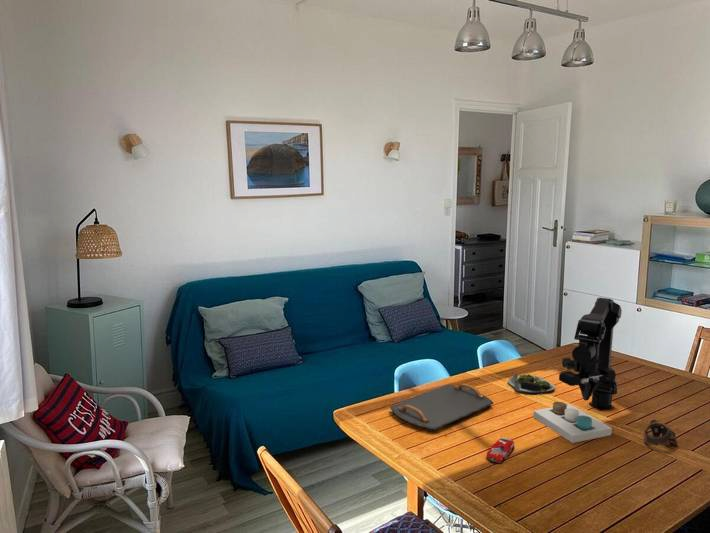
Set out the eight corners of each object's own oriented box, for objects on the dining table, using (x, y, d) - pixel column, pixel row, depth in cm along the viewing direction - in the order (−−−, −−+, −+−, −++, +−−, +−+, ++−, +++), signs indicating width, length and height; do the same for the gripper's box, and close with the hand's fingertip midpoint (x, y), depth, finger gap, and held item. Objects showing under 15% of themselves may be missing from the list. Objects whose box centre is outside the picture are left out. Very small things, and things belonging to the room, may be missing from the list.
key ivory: (571, 416, 188) (572, 407, 187) (581, 421, 183) (582, 412, 183) (561, 418, 186) (561, 409, 186) (570, 423, 182) (571, 414, 181)
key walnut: (560, 409, 193) (560, 400, 193) (569, 414, 189) (569, 405, 189) (549, 411, 192) (550, 402, 191) (558, 416, 188) (559, 407, 187)
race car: (500, 467, 160) (500, 454, 159) (483, 461, 163) (483, 449, 163) (517, 449, 170) (517, 437, 170) (501, 443, 174) (501, 432, 173)
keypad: (569, 410, 197) (569, 404, 197) (611, 435, 179) (611, 428, 178) (533, 417, 192) (533, 410, 192) (572, 443, 173) (572, 435, 173)
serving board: (452, 388, 219) (452, 374, 218) (499, 407, 201) (500, 391, 200) (382, 415, 195) (382, 399, 194) (429, 439, 177) (429, 422, 176)
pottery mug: (685, 453, 168) (678, 434, 165) (655, 462, 170) (647, 444, 167) (667, 427, 179) (660, 409, 176) (639, 436, 181) (632, 419, 178)
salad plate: (496, 379, 229) (497, 369, 228) (534, 375, 232) (534, 365, 232) (520, 397, 210) (520, 386, 209) (560, 393, 214) (561, 382, 213)
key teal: (584, 423, 182) (584, 414, 182) (594, 429, 178) (595, 420, 177) (573, 425, 181) (574, 416, 180) (583, 431, 176) (583, 422, 176)
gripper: (593, 344, 186) (590, 387, 188) (549, 350, 180) (546, 394, 182) (618, 354, 175) (614, 399, 178) (572, 361, 169) (569, 407, 172)
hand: (585, 399), depth 178 cm, fingers closed
